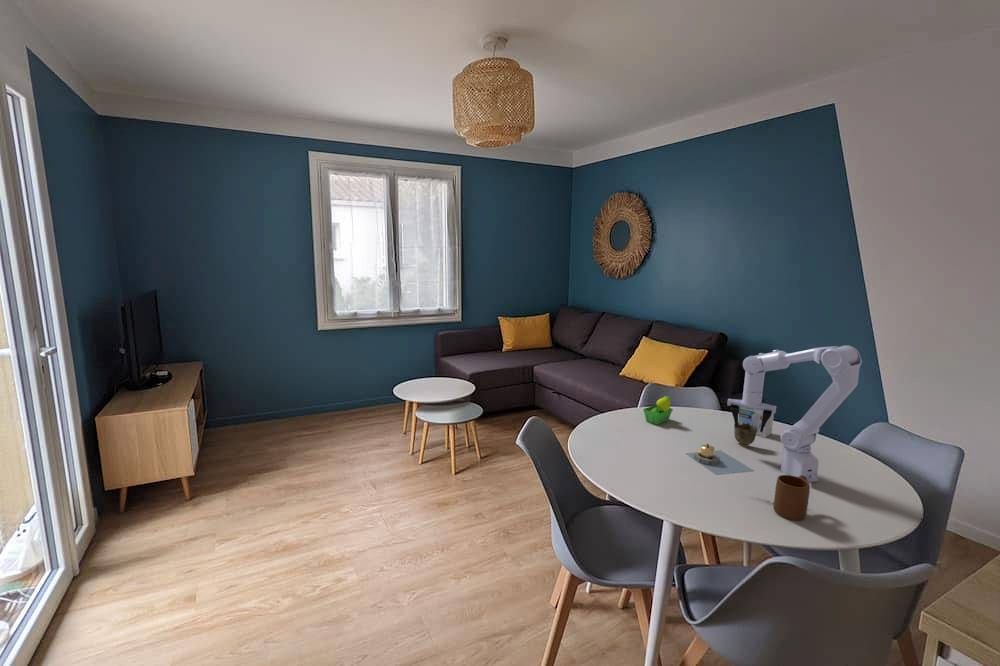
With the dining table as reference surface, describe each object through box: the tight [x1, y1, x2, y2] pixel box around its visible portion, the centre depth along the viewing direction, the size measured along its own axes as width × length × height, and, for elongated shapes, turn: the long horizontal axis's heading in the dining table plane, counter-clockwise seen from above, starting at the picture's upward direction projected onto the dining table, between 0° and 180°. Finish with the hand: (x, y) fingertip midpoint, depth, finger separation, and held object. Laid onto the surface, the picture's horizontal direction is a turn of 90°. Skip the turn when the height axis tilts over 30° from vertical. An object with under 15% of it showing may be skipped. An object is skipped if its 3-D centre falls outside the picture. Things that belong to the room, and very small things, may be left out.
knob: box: [700, 443, 715, 460], centre depth 157 cm, size 4×4×5 cm
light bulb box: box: [738, 407, 775, 438], centre depth 185 cm, size 11×7×11 cm, turn 42°
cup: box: [733, 423, 758, 447], centre depth 171 cm, size 8×7×8 cm
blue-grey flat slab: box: [685, 450, 755, 476], centre depth 156 cm, size 16×14×2 cm
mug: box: [773, 474, 811, 521], centre depth 128 cm, size 12×8×9 cm, turn 128°
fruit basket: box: [642, 396, 674, 425], centre depth 195 cm, size 11×9×11 cm
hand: (748, 428), depth 162 cm, fingers open, 7 cm apart
